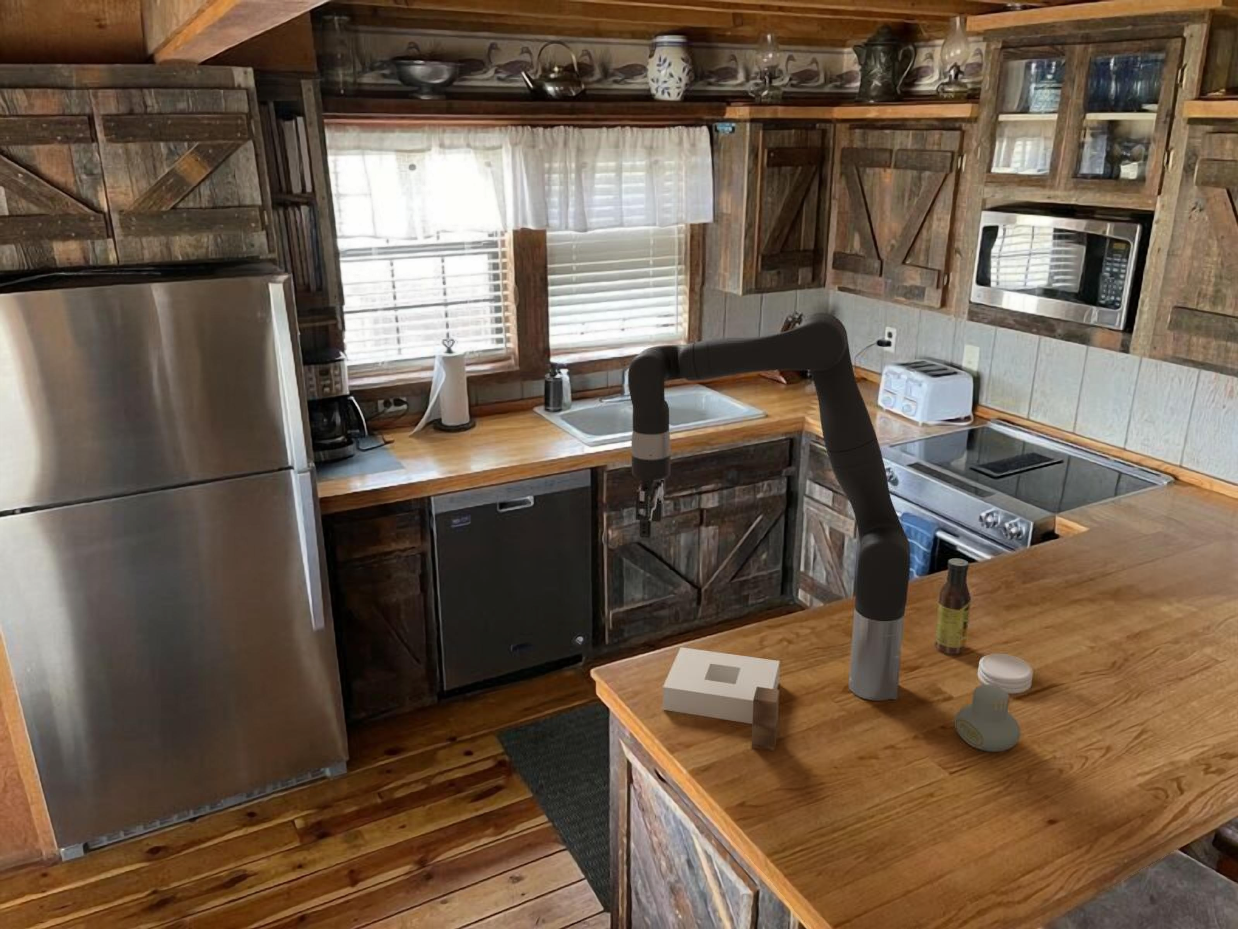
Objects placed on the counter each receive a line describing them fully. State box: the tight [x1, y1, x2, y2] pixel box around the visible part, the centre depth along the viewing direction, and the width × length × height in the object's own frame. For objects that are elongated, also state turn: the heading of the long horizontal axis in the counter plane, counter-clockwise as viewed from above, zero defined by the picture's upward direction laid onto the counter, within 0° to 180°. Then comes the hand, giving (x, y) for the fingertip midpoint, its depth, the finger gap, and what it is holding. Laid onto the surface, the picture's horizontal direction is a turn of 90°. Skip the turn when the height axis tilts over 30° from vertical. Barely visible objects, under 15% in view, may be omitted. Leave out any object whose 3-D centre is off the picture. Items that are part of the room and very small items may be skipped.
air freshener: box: [954, 684, 1021, 753], centre depth 165 cm, size 11×8×10 cm
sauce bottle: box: [934, 557, 972, 655], centre depth 194 cm, size 6×6×20 cm
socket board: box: [662, 646, 781, 724], centre depth 180 cm, size 20×15×5 cm
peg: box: [750, 687, 780, 752], centre depth 166 cm, size 4×4×10 cm
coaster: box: [977, 653, 1034, 695], centre depth 185 cm, size 10×10×4 cm
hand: (651, 528), depth 185 cm, fingers open, 8 cm apart
